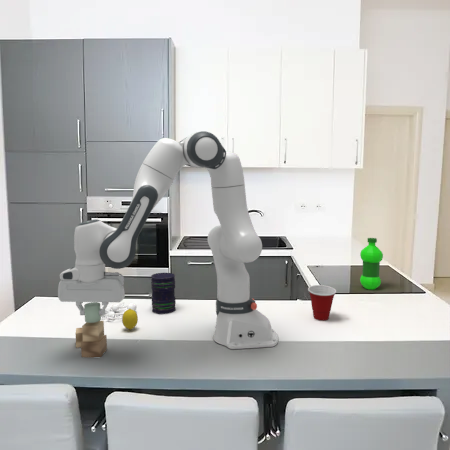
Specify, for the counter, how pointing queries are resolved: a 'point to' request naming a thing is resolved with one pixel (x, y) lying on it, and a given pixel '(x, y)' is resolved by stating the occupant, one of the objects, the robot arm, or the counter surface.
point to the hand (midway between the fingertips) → (92, 314)
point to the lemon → (130, 319)
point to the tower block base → (94, 348)
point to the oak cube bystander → (79, 337)
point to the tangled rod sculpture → (115, 308)
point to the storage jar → (163, 293)
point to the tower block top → (93, 331)
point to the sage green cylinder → (92, 312)
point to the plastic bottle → (371, 265)
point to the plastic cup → (321, 301)
